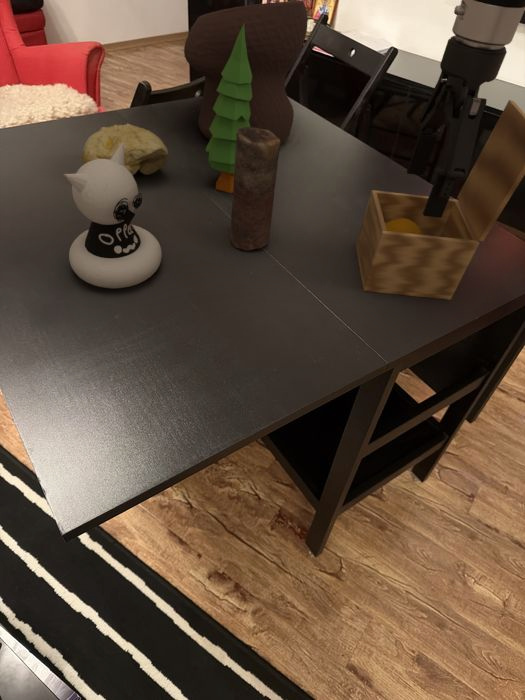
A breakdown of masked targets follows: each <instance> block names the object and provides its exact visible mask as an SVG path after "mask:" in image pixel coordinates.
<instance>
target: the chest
mask: <svg viewBox="0 0 525 700" xmlns="http://www.w3.org/2000/svg"><path fill="white" fill-rule="evenodd" d="M428 198H429V196H428V195H419V194H410V193H401V192H393V191H386V190H385V191H384V190H383V191H382V190H376V189H375V190H374V189H372V190H371V192H370V195H369V199H368V201H367V202H368V203H367V206H366V210H365V212H364V216H363V219H362V224H361V227H360V230H359V233H358V236H357V240H356V244H355V249H356V250H355V251H356V256H357V261H358V266H359V273H360V277H361V284H362V289H363V292H371V293H380V294H391V295H400V296H409V297H410V296H411V297H419V298H429V299H438V300H439V299H440V300H448V301H451V300H452V298H453V296H454V295H455V292H456V291H457V289H458V286H459V284H460V283H461V280H462V279H463V276H464V274H465V272H466V270H467V269H468V267H469V265H470V263H471V261H472V259H473V257H474V255H475V253H476V251H477V249H478V247H479V246H480V242H479V240H478V238H477V236H476V234H475V232H474V230H473V228H472V226H471V224H470V222H469V220H468V218H467V216H466V213H465V211H464V209H463V207H462V205H461V203H460V201H459V199H455V198H449V200H448V203H447V205H446V208H445V210H444V212H443V215H442V217H441V218H439V217H430V216H424V215H423V211H424V209H425V206H426V203H427V201H428ZM400 218H403V219H409V220H411V221H413V222H414V223H415V224H416V225H418V226H419V228H420V229H421V232H422V235H420V234H410V233H401V232H392V231H387V230H386V226H385V222H389V221H392V220H395V219H400Z"/></svg>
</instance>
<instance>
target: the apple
mask: <svg viewBox="0 0 525 700" xmlns="http://www.w3.org/2000/svg"><path fill="white" fill-rule="evenodd" d="M385 226H386V230H387V231H392V232H401V233H410V234H420V235H422V232H421V229H420V228H419V226H418V225H416V224H415V223H414V222H413V221H411V220H409V219H403V218H400V219H395V220H392V221H389V222H385Z"/></svg>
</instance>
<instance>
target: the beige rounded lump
mask: <svg viewBox="0 0 525 700" xmlns="http://www.w3.org/2000/svg"><path fill="white" fill-rule="evenodd" d="M123 141H124V157H125V168H127V170H128V171H129V172H130V173H131V174H132V176H134V175H136V173H137V172H138V171H139V172H140V173H142V174H143V175H145V176H148V175H152V174H154V173H156V172H157V171H159V170H160V169H162V167H163V166H164V165H165V164H166V161H167V156H168V155H169V150H168V148H167V147H166V145H165V144H164V142H163V140H162V139H161V138H160V137H159V136H158V135H156V134H154V132H151V130H148V129H145V128H144V127H139V126H135V125H133V124H130V123H128V122H127V123H125V124H124V125H123V124H116V123H115V124H114V125H112V126H107V127H105V126H101V128H100V129H99V130H98V131H95V132H94V133H92V134H91V135H90V136H89V137H88V138H87V140H86V141H85V143H84V146H83V150H82V162H83V165H84V164H86V163H87V162H89V161H92V160H96V159H109V160H111V158H112V157H113V155H114V154H115V152H116V151H117V149H118V148H119V146H120V145H121V143H122V142H123Z"/></svg>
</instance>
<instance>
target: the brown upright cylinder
mask: <svg viewBox="0 0 525 700" xmlns="http://www.w3.org/2000/svg"><path fill="white" fill-rule="evenodd" d="M280 147H281V145H280V140H279V138H277V137H276V136H275V135H274V134H273V133H272V132H270V131H269V130H265V129H259V128H252V127H241V128H239V129H238V130H237V133H236V153H235V169H234V186H233V193H232V202H231V215H230V216H231V217H230V235H229V237H230V240H231V245H232V246H233V247H235V248H236V249H239V250H243V251H252V250H256V249H257V250H258V249H262V248H263V247H265V246H266V245H267V244H268V243H269V240H270V235H271V228H272V227H271V226H272V218H273V211H274V209H273V208H274V199H275V189H276V181H277V174H278V163H279V155H280Z"/></svg>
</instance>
